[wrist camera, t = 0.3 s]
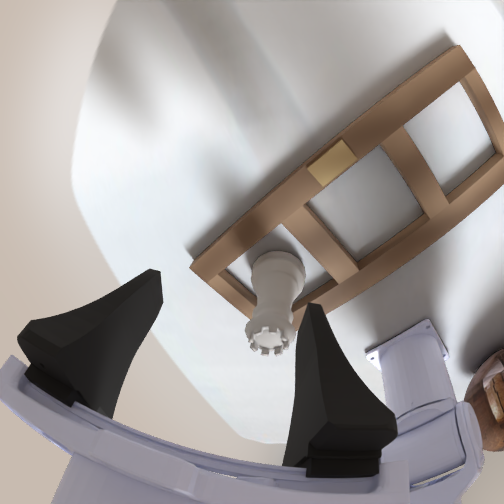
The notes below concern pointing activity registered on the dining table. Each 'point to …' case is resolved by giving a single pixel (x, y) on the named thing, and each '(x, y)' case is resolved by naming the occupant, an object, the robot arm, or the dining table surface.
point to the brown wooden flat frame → (341, 159)
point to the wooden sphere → (489, 401)
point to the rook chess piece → (274, 301)
